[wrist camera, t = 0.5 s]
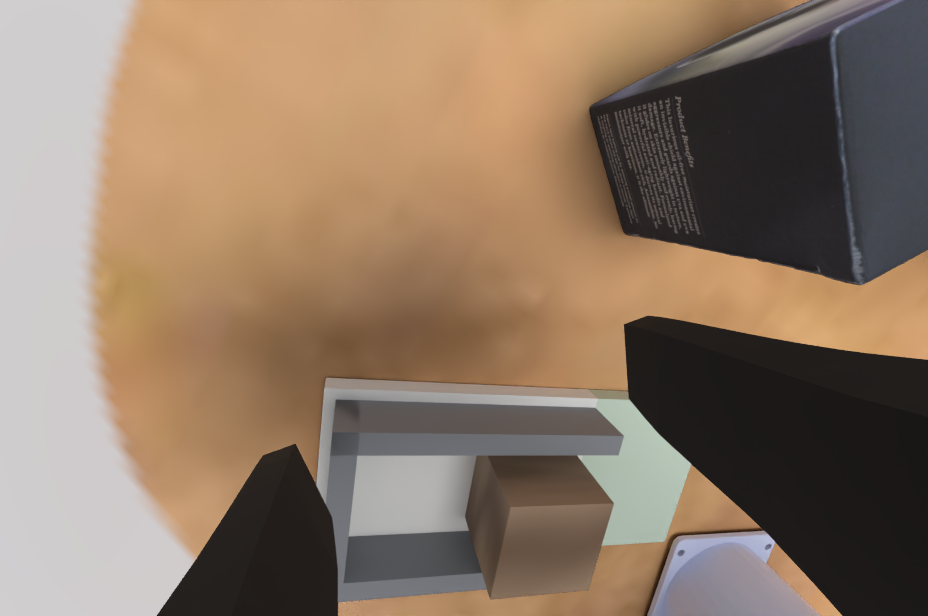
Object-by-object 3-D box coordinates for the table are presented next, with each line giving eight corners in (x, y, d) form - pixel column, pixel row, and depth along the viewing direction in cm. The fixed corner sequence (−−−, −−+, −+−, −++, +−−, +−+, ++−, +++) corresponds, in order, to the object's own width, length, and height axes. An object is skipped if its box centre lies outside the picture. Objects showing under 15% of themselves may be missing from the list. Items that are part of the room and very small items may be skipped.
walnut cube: (546, 513, 23) (588, 590, 19) (464, 517, 22) (490, 599, 17) (564, 439, 22) (614, 503, 17) (479, 439, 20) (510, 506, 16)
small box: (792, -1, 19) (1260, -191, 9) (808, 145, 21) (1193, 120, 11) (581, 100, 18) (845, 11, 8) (623, 240, 20) (866, 301, 11)
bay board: (653, 528, 26) (694, 578, 23) (312, 546, 21) (303, 614, 18) (698, 394, 24) (751, 428, 21) (325, 377, 19) (318, 420, 16)
